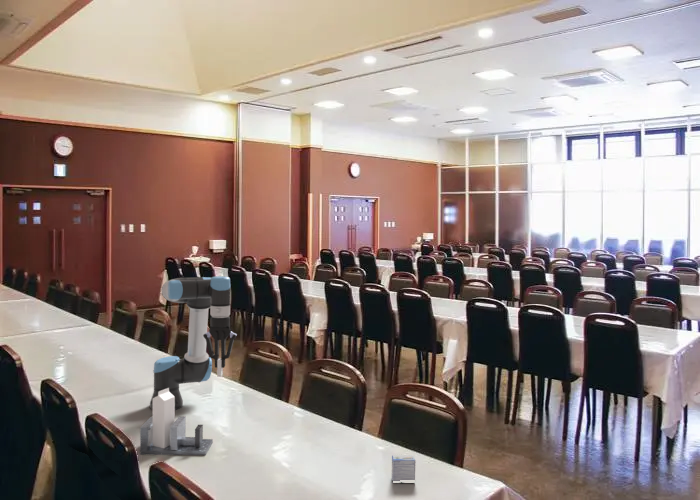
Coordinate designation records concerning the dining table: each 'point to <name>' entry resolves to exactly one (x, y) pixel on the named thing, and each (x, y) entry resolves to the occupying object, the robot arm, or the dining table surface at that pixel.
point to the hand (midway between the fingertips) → (219, 375)
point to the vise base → (148, 447)
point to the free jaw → (184, 434)
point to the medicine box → (403, 467)
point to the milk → (163, 418)
